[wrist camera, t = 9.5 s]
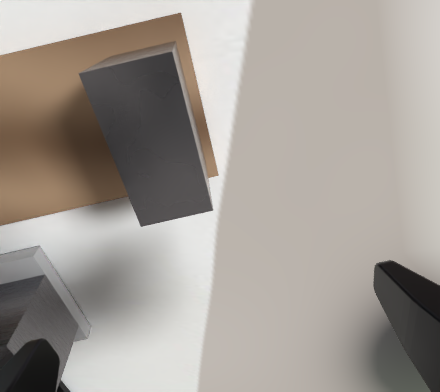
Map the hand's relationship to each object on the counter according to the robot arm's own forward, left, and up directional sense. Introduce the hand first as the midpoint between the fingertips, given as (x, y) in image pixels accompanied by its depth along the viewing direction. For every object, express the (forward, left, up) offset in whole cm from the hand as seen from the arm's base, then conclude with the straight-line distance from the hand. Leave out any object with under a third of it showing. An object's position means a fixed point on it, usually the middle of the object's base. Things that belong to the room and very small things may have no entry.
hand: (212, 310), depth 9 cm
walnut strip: (+3, +10, -11) cm, 15 cm away
